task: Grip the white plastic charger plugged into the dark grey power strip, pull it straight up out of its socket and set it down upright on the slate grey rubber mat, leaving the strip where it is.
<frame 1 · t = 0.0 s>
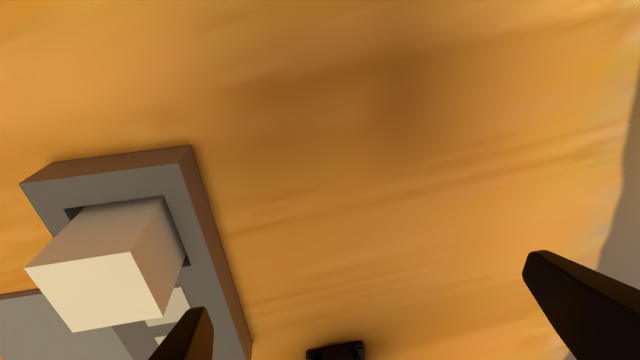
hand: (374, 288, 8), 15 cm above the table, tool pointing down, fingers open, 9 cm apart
charger: (146, 219, 22), resting on power strip
mat: (65, 332, 27), on the table
power strip: (176, 267, 26), on the table, touching charger
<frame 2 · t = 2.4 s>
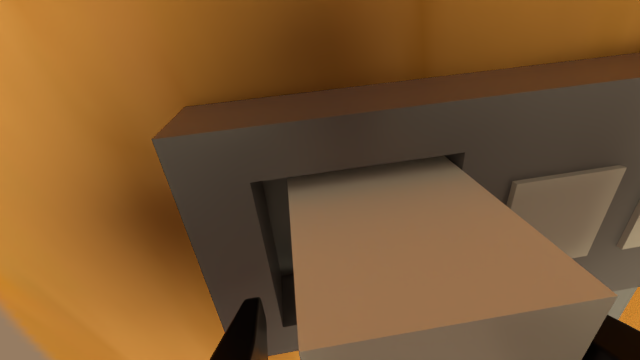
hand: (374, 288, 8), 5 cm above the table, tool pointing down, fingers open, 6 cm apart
charger: (357, 206, 12), resting on power strip, touching gripper
mat: (525, 327, 18), on the table
power strip: (475, 175, 13), on the table, touching charger
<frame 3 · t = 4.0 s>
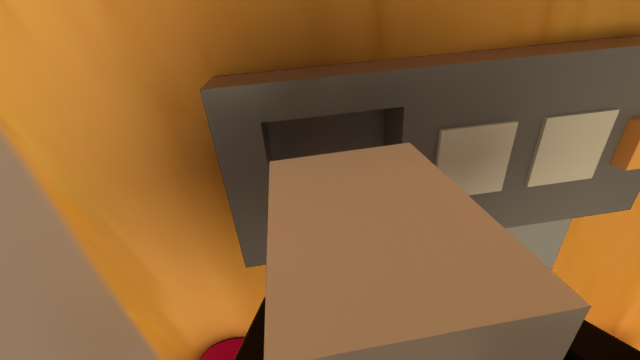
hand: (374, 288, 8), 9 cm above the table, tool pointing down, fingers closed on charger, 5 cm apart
pepper mill: (240, 359, 24), on the table
charger: (344, 210, 12), point 5 cm above the table, touching gripper
mat: (479, 269, 22), on the table
power strip: (428, 137, 17), on the table
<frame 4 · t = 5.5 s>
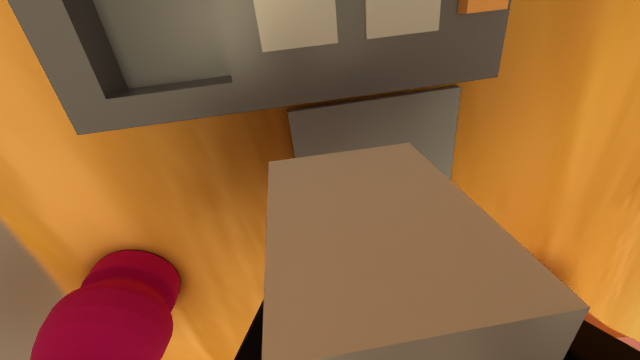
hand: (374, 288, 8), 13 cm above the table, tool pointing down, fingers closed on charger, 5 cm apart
pepper mill: (139, 278, 23), on the table
charger: (343, 210, 12), point 9 cm above the table, touching gripper
mat: (374, 173, 22), on the table
cell model: (469, 316, 32), on the table
power strip: (282, 7, 16), on the table
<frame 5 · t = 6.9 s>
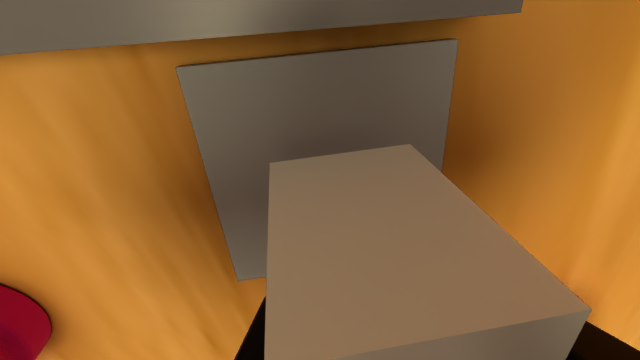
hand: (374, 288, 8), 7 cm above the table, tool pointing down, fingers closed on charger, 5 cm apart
charger: (344, 211, 12), point 3 cm above the table, touching gripper
mat: (329, 173, 15), on the table
when the fingers open (5 cm above the table, at t = 8.1 s): charger stays where it is, resting on mat.
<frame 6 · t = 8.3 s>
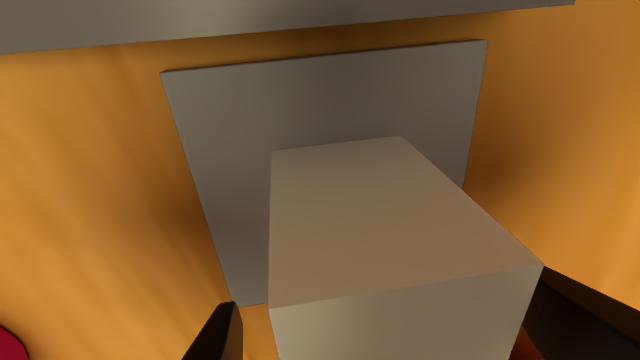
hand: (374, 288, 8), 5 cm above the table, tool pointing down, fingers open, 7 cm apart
charger: (339, 198, 13), point 1 cm above the table, touching mat
mat: (336, 190, 13), on the table
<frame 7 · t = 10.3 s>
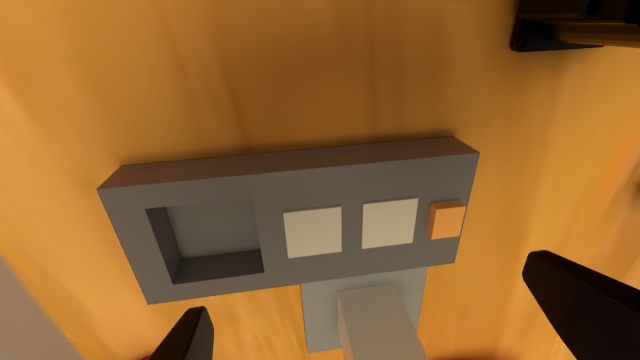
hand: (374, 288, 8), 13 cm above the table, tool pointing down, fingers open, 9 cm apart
charger: (364, 307, 27), point 1 cm above the table, touching mat
mat: (362, 301, 28), on the table
power strip: (301, 203, 22), on the table
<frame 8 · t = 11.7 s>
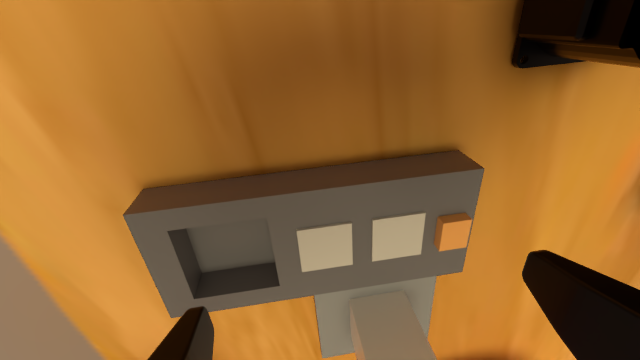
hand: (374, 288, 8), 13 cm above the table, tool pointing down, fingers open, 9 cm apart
charger: (376, 313, 28), point 1 cm above the table, touching mat
mat: (374, 307, 28), on the table
power strip: (312, 217, 23), on the table
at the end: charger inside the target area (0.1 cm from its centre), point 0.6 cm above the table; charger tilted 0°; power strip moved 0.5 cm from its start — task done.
